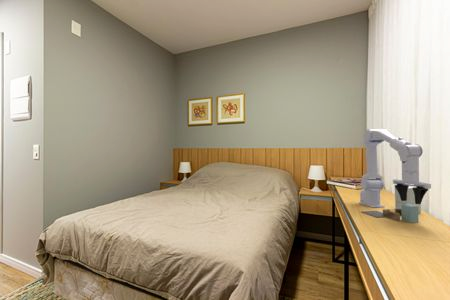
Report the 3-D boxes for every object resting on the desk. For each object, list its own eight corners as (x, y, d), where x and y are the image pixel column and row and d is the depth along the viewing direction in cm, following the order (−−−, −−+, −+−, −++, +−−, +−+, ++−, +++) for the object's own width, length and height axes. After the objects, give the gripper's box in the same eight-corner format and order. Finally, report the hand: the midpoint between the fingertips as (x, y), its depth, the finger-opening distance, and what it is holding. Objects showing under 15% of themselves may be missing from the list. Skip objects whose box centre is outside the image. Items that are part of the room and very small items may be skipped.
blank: (401, 219, 93) (401, 204, 93) (408, 219, 94) (408, 204, 94) (411, 222, 89) (410, 206, 89) (418, 222, 90) (418, 206, 90)
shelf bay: (382, 215, 99) (382, 209, 99) (400, 214, 101) (400, 208, 101) (398, 220, 92) (398, 214, 92) (416, 219, 93) (416, 212, 93)
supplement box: (421, 213, 103) (421, 188, 103) (406, 213, 103) (406, 188, 103) (408, 209, 110) (408, 185, 111) (394, 209, 111) (394, 185, 111)
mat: (360, 212, 105) (360, 211, 105) (376, 211, 107) (376, 210, 107) (376, 217, 96) (376, 216, 96) (392, 216, 98) (392, 215, 98)
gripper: (387, 170, 98) (387, 199, 98) (420, 173, 84) (421, 206, 83) (399, 170, 99) (400, 198, 99) (434, 173, 85) (435, 206, 85)
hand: (410, 202), depth 91 cm, fingers open, 5 cm apart
